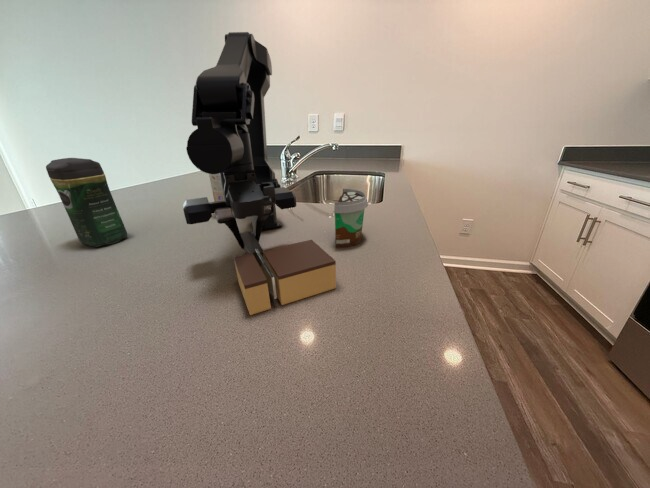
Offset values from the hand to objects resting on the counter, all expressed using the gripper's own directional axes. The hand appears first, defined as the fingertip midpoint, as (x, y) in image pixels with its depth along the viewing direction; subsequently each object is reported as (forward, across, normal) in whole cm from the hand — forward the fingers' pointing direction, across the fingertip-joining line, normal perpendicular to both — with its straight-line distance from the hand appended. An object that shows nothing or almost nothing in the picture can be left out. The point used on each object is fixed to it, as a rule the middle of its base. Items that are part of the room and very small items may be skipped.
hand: (249, 246), depth 50 cm
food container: (+3, +22, -2) cm, 23 cm away
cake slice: (+2, -2, -13) cm, 13 cm away
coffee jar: (+3, -29, +26) cm, 39 cm away
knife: (+1, 0, -7) cm, 7 cm away
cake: (+2, +5, -13) cm, 14 cm away
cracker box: (+3, +2, +34) cm, 34 cm away
